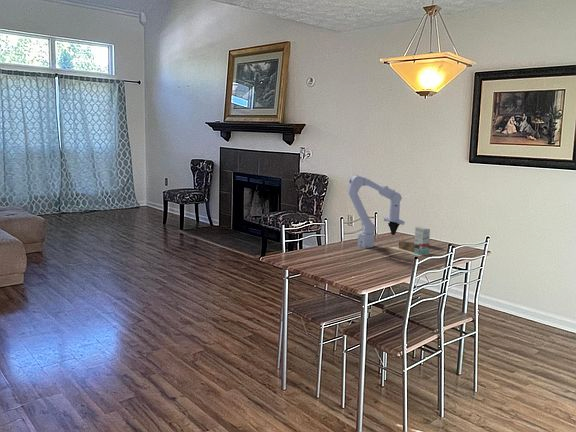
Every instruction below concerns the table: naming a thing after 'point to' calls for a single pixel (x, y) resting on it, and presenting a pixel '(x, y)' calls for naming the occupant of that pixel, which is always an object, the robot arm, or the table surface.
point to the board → (405, 251)
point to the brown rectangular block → (408, 246)
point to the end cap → (421, 251)
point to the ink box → (422, 236)
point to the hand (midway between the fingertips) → (393, 234)
